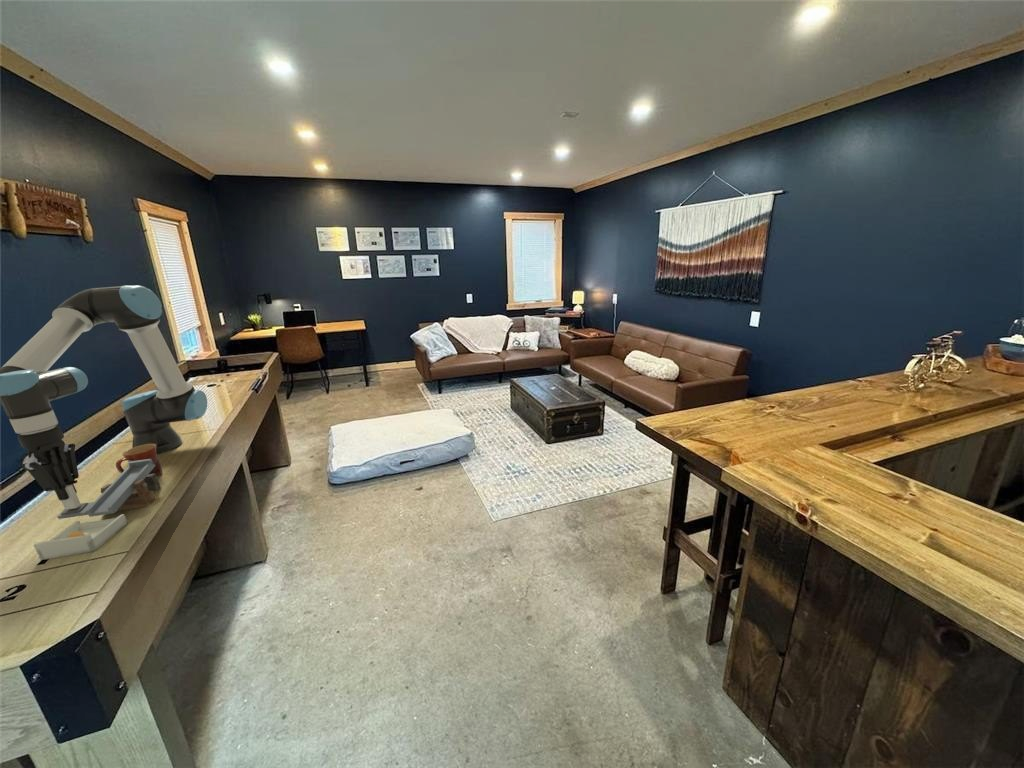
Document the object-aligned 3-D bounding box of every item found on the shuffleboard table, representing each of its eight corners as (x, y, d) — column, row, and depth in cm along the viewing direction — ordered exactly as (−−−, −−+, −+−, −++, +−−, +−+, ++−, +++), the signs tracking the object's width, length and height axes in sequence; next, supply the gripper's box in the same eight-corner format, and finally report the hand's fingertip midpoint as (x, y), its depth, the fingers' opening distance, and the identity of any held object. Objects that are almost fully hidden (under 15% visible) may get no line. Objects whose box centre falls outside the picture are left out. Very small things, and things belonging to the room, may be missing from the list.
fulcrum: (132, 491, 128) (124, 471, 126) (171, 486, 130) (164, 465, 128) (104, 512, 117) (95, 490, 115) (148, 506, 119) (139, 484, 117)
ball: (59, 539, 99) (65, 550, 101) (75, 537, 100) (81, 547, 101) (70, 530, 102) (76, 540, 104) (85, 528, 103) (91, 538, 104)
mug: (152, 469, 143) (143, 443, 140) (172, 470, 141) (162, 443, 138) (115, 487, 132) (103, 459, 129) (135, 488, 130) (124, 460, 127)
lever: (105, 472, 125) (100, 465, 124) (155, 465, 128) (151, 458, 126) (56, 521, 108) (49, 514, 107) (114, 513, 111) (108, 505, 109)
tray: (80, 530, 109) (73, 516, 108) (127, 523, 111) (122, 509, 110) (41, 559, 98) (33, 544, 97) (94, 551, 100) (87, 536, 99)
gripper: (44, 422, 109) (77, 496, 116) (-5, 441, 97) (35, 523, 104) (76, 418, 110) (106, 492, 117) (30, 437, 98) (68, 518, 105)
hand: (73, 507), depth 110 cm, fingers closed
